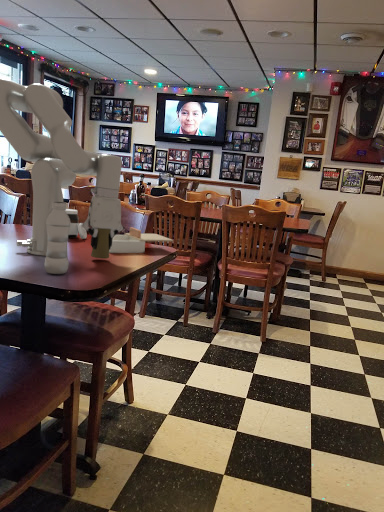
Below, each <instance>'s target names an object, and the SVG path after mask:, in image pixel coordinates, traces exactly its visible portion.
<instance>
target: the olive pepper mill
mask: <svg viewBox="0 0 384 512" xmlns="http://www.w3.org/2000/svg"><path fill="white" fill-rule="evenodd" d="M110 232H111V229H98V233H97V238H98V243H97V248H96V249H93V248H92V250H91V253H90V256H91V257H92V258H96V259H109V258H110V253H109V234H110Z"/></svg>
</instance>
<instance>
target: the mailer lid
mask: <svg viewBox="0 0 384 512" xmlns="http://www.w3.org/2000/svg"><path fill="white" fill-rule="evenodd" d="M124 235H127V236H130V237H132V238H134V239H137V240H139V241H145V242H173V241H174V240H173V239H171V238H169V237H165V236H163V235H160V234H157V233H142V230H140V229H138V228H136V227H133V226H130V227H129V232H127V233H124Z"/></svg>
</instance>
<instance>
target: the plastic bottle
mask: <svg viewBox="0 0 384 512" xmlns="http://www.w3.org/2000/svg"><path fill="white" fill-rule="evenodd" d="M52 208H53V211H52V212H51V213H50V214H49V216H48V217H47V220H46V224H47V234H48V246H47V254H46V256H45V259H44V265H43V266H44V270H45V272H46V273H48V274H52V275H62V274H66V273H67V271H68V269H69V263H70V262H69V256H68V240H69V238H68V234H69V229H70V223H71V222H70V218H69V216H68V215H67V213H66V212H65V210H66V209H67V202H65V201H63V202H58V201H53V202H52Z"/></svg>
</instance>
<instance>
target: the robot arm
mask: <svg viewBox="0 0 384 512" xmlns="http://www.w3.org/2000/svg"><path fill="white" fill-rule="evenodd" d="M17 111H18V112H17ZM19 112H23V113H29V114H33V115H34V116H35V117H36V118H37V120H38V121H39V122H40V123H41V125H42V126H43V128H44V129H45V131H46V132H47V133H48V135H49V136H48V135H45V134H41V133H38V132H36V131H35V130H33V128H32V127H31V126H30V125H29V124H28V123H27V121H26V120H25V118H24V117H23V116H22V115H21V114H20V113H19ZM72 124H73V121H72V119H71V117H70V115H68V113H67V112H66V111H65V109H64V101H63V98H62V96H61V94H60V93H59V92H57V91H56V90H54V89H53V88H50V87H48V86H46V85H44V84H41V83H36V82H35V83H32V84H29V85H22V84H20V83H18V82H16V81H13V80H10V79H8V78H5V77H0V132H1V134H2V135H3V136H4V138H5V139H6V140H7V141H8V144H9V145H10V146H11V147H12V148H13V149H14V151H15V152H16V153H17V155H18V156H19V157H20V158H21V159H22V160H24V161H27V162H32V163H33V165H32V166H31V169H30V176H31V184H32V193H33V194H32V195H33V196H32V197H33V199H32V223H31V224H32V228H31V229H32V231H31V232H32V233H31V237H29V239H26V240H16V247H22V248H26V252H27V253H28V254H30V255H36V256H45V257H46V254H47V246H48V234H47V224H46V220H47V217H48V216H49V214H50V213H51V212H52V211H53V208H52V202H53V201H58V202H64V194H63V190H62V189H63V188H67V187H70V186H72V185H74V182H75V181H76V179H77V175H78V174H79V175H88V176H96V177H95V186H94V188H90V193H91V194H93V195H92V196H91V200H90V204H89V206H88V207H89V208H88V215H87V218H86V219H85V221H84V222H82V223H83V225H82V227H83V228H84V229H86V232H88V233H89V235H90V236H91V237H90V246H91V248H92V249H96V248H97V243H98V238H97V233H98V229H111V232H110V234H109V250H110V248H111V246H112V239H113V238H114V236H115V235H118V233H120V232H121V231H124V226H123V225H122V204H121V203H122V202H121V199H119V191H120V182H121V174H122V173H121V172H122V165H123V161H122V157H120V156H119V155H113V154H109V153H108V154H106V153H97V152H94V151H91V150H86V149H84V148H82V147H81V145H80V144H79V142H78V141H77V139H75V137H74V135H73V134H72V131H71V127H72Z"/></svg>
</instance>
